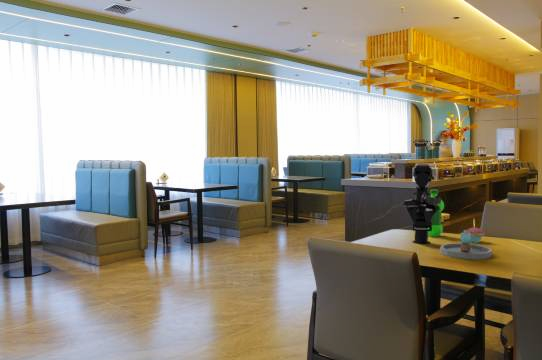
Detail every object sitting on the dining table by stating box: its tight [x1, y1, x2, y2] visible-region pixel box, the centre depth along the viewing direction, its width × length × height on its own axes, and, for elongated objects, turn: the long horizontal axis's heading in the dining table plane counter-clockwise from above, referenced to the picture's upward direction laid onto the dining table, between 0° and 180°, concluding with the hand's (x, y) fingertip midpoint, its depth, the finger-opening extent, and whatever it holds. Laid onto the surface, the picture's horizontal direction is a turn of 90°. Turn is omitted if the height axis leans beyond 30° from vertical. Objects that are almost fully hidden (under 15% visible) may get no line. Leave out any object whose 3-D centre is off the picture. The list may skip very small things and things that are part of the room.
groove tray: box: [439, 242, 493, 260], centre depth 204 cm, size 21×21×2 cm
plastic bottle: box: [426, 189, 445, 238], centre depth 245 cm, size 10×10×25 cm
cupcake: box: [466, 218, 485, 244], centre depth 230 cm, size 9×8×12 cm
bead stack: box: [459, 229, 472, 253], centre depth 199 cm, size 5×5×11 cm
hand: (421, 223), depth 211 cm, fingers open, 9 cm apart
